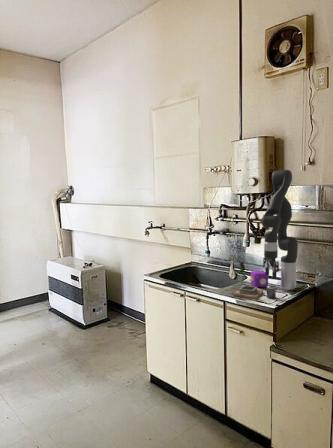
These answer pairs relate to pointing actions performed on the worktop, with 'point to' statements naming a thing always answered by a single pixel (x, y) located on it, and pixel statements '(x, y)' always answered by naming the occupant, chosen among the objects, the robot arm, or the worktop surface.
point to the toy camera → (259, 278)
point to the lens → (271, 291)
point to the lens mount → (248, 292)
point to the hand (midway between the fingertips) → (270, 276)
